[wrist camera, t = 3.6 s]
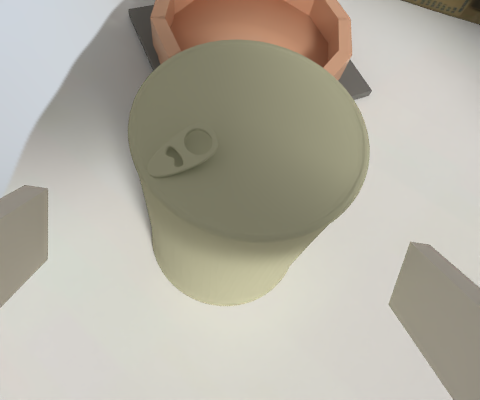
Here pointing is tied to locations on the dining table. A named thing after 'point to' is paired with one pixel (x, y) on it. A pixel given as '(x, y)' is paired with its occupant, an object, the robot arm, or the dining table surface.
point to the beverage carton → (453, 8)
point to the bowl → (256, 27)
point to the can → (242, 164)
